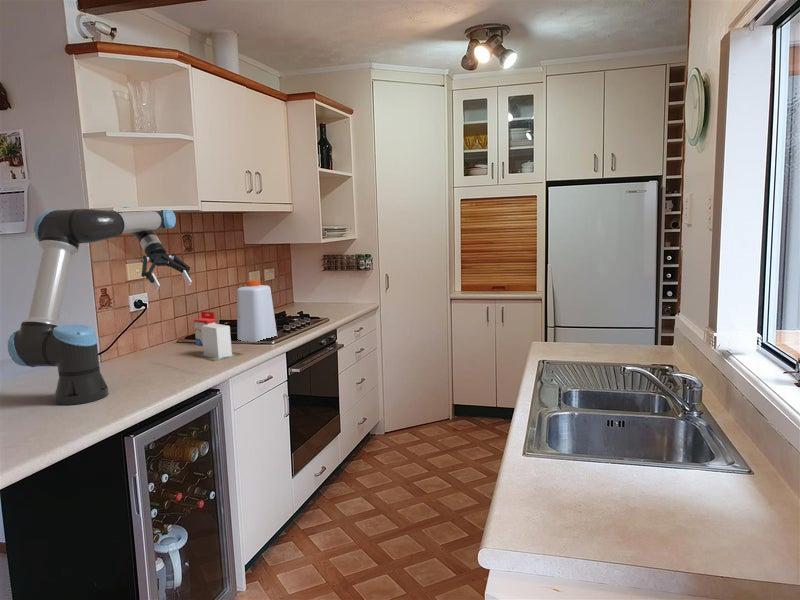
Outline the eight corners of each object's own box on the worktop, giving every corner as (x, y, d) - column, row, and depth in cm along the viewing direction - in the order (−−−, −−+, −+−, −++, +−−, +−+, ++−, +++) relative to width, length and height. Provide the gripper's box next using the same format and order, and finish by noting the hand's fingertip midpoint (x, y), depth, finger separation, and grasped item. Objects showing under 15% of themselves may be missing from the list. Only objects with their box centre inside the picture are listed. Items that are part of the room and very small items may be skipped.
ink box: (195, 345, 266) (192, 313, 264) (203, 342, 271) (201, 311, 269) (209, 346, 262) (206, 313, 260) (217, 344, 267) (214, 312, 265)
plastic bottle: (262, 345, 260) (257, 282, 256) (233, 344, 265) (228, 282, 261) (281, 338, 273) (276, 278, 269) (253, 337, 279) (249, 278, 275)
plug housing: (218, 358, 233) (216, 328, 231) (203, 354, 240) (201, 325, 238) (232, 355, 237) (229, 325, 235) (217, 351, 244) (214, 323, 243)
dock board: (213, 364, 228) (213, 361, 228) (192, 359, 239) (191, 356, 239) (244, 357, 239) (244, 354, 238) (222, 352, 249) (222, 349, 249)
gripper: (178, 252, 257) (199, 288, 250) (120, 256, 239) (141, 295, 231) (183, 240, 253) (205, 276, 245) (125, 243, 235) (146, 282, 227)
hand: (174, 285), depth 238 cm, fingers open, 13 cm apart
